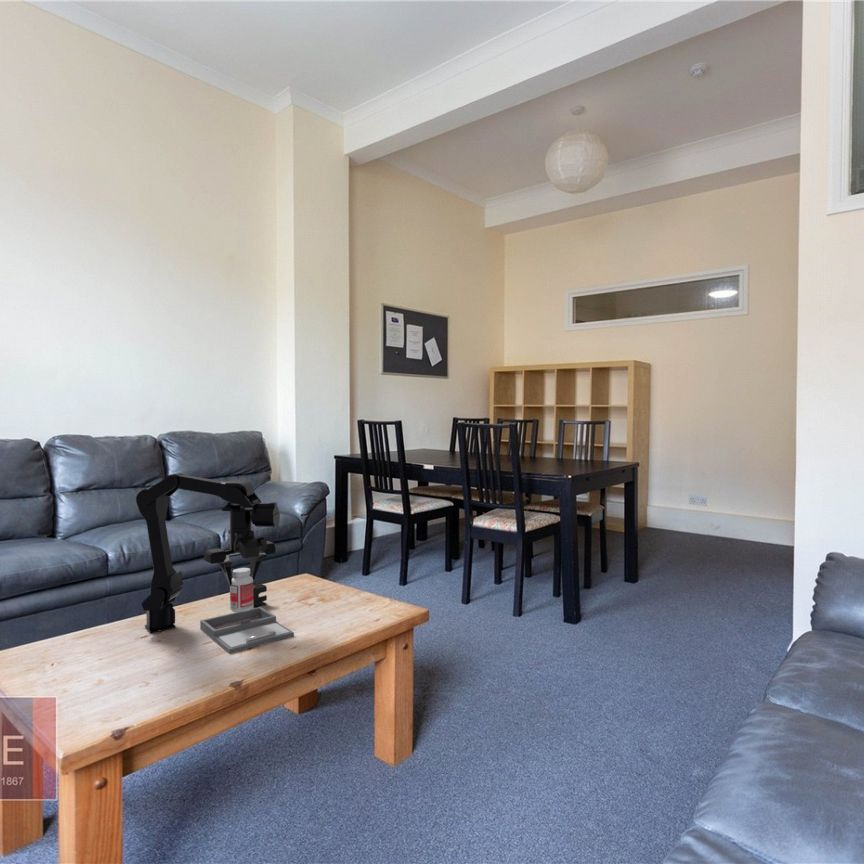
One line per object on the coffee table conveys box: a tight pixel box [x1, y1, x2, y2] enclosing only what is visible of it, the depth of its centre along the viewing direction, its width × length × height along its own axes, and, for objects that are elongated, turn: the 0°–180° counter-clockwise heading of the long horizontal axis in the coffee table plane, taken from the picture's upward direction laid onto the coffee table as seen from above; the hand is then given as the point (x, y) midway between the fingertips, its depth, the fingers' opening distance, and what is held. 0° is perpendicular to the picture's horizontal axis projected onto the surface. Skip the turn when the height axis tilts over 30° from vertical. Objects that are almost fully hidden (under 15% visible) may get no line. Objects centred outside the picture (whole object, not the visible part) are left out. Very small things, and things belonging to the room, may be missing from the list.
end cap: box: [252, 581, 268, 609], centre depth 179 cm, size 10×7×7 cm
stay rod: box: [245, 631, 276, 642], centre depth 148 cm, size 8×1×1 cm, turn 131°
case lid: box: [213, 620, 295, 654], centre depth 151 cm, size 18×11×1 cm, turn 131°
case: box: [199, 606, 277, 641], centre depth 160 cm, size 18×11×3 cm, turn 131°
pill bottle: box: [229, 567, 254, 613], centre depth 158 cm, size 6×6×11 cm
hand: (241, 582), depth 158 cm, fingers closed on pill bottle, 6 cm apart
